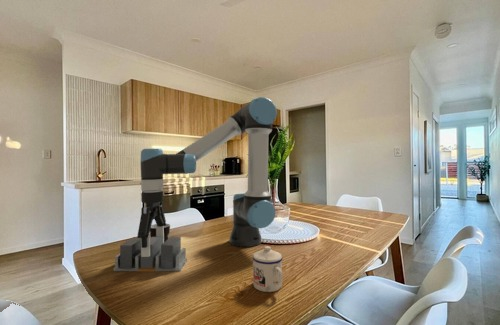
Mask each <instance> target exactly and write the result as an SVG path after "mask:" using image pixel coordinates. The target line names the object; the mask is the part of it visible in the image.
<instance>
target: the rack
mask: <svg viewBox="0 0 500 325" xmlns="http://www.w3.org/2000/svg"><path fill="white" fill-rule="evenodd" d="M181 240H182V238H181V236H169V239H167V240H166V241H165V242H164V243H163V244H162V245H161V252H160V253H159V254H158V255H157V256H156V265H155V266H154V267H153V268H141V238H138V237H137V236H133V237H131V238H129V239H128V240H127V241H125V242H123V243H121V244H120V245H119V253H118V254H117V255H115V256H114V267H113V272H139V273H140V272H143V273H144V272H146V273H147V272H148V273H149V272H152V273H153V272H154V273H155V272H181V271H182V269H183V268H184V266H185V265H186V263H187V261H188V259H187V257H186V249H187V248H186V247H182V246H181V245H182V242H181ZM181 247H182V248H181Z"/></svg>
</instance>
